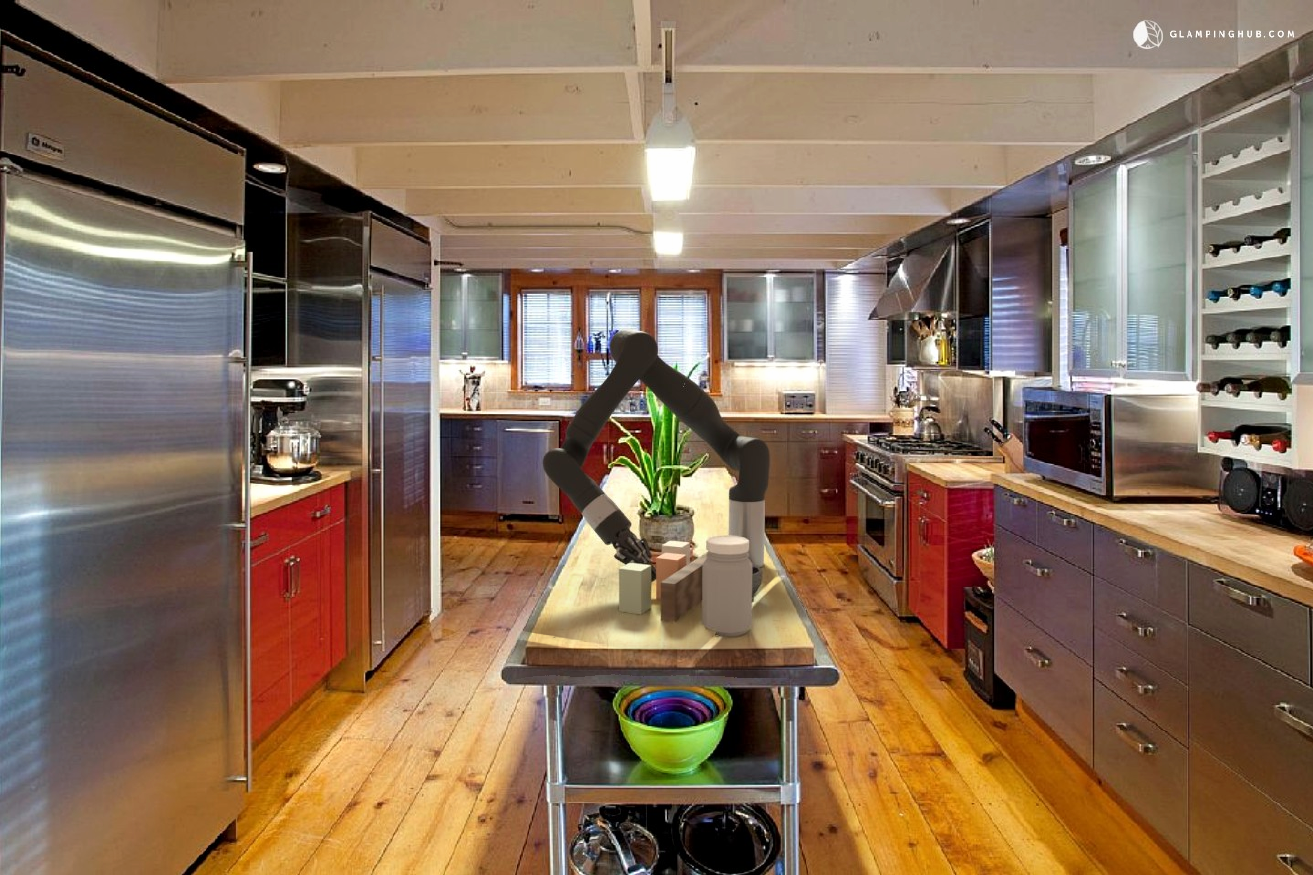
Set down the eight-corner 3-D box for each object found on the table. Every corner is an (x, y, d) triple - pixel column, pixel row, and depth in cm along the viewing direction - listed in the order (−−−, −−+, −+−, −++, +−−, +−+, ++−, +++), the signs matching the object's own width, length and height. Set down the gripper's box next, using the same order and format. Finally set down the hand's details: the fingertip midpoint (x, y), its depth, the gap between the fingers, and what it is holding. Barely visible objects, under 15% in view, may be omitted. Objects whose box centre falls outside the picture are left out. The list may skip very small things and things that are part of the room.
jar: (747, 621, 156) (748, 534, 155) (755, 638, 147) (756, 545, 145) (699, 621, 156) (700, 534, 154) (704, 638, 146) (705, 545, 145)
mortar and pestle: (716, 593, 175) (717, 541, 174) (757, 593, 175) (758, 541, 174) (721, 609, 164) (721, 554, 163) (765, 609, 164) (766, 554, 163)
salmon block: (665, 592, 172) (665, 552, 171) (686, 594, 170) (686, 554, 169) (656, 598, 167) (656, 557, 166) (677, 601, 165) (677, 560, 164)
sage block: (629, 604, 163) (629, 562, 162) (651, 607, 161) (651, 565, 160) (619, 611, 158) (618, 568, 158) (641, 614, 156) (641, 571, 156)
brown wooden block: (655, 579, 186) (655, 542, 185) (723, 587, 179) (724, 550, 178) (596, 616, 159) (596, 574, 158) (674, 628, 152) (674, 583, 151)
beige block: (670, 577, 183) (670, 540, 182) (689, 580, 181) (689, 542, 180) (661, 583, 178) (661, 545, 178) (681, 585, 176) (681, 547, 176)
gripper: (603, 513, 166) (655, 575, 162) (629, 503, 178) (678, 561, 174) (581, 535, 168) (632, 597, 165) (609, 524, 180) (657, 581, 177)
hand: (656, 578), depth 169 cm, fingers closed
